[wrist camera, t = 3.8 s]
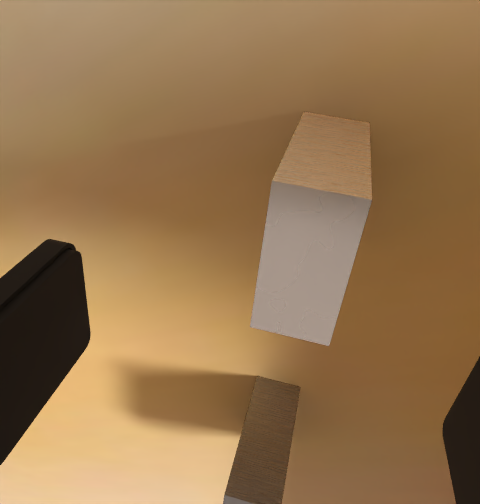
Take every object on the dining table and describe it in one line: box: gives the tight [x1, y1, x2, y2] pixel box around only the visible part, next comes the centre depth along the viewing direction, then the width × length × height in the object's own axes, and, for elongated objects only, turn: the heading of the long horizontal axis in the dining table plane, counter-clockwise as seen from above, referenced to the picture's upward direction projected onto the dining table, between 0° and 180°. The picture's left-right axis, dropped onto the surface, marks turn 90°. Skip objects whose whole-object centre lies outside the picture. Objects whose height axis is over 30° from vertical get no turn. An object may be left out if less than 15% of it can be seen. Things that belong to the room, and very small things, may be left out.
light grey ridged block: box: [250, 112, 372, 346], centre depth 15 cm, size 5×2×7 cm, turn 174°
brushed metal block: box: [223, 376, 300, 504], centre depth 23 cm, size 5×2×7 cm, turn 174°
